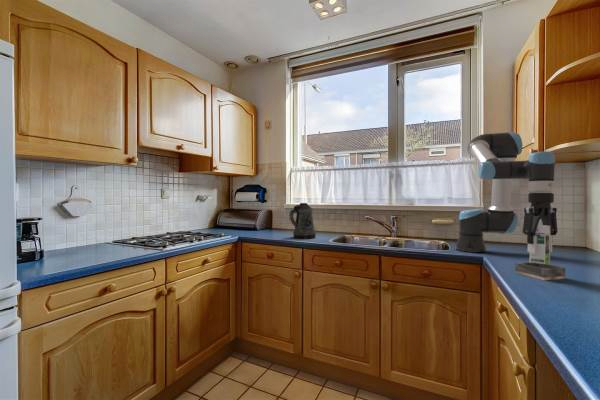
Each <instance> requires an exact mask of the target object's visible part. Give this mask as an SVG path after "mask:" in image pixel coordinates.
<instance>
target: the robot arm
mask: <svg viewBox="0 0 600 400" xmlns="http://www.w3.org/2000/svg"><path fill="white" fill-rule="evenodd" d="M522 151H523V139H522V137H521V134H519V133H517V132H496V133H495V132H494V133H483V134H480V135H477V136H475V137H474V138H472V139H471V140H470V141H469V143H468V145H467V153H468V154H469V156H471V158H474V160H475V161H476V162H477V164H478V169H477V173H478V178H479V179H481V180H492V183H491V201H490V203H491V204H490V206H489V207H488V208H487V211H484V209H483V208H479V209H478V208H477V209H465V210H461V211H460V212H459V217H458V220H459V222H458V224H459V225H458V238H457V241H456V244H455V246H454V247H455V250H456V249H457V250H456V251H459V250H461V251H460V252H464V251H468V252H467V253H472V252H485V253H487V246H486V243H485V241H484V233H488V234H491V233H492V234H501V235H502V234H503V235H504V234H512V233H514V232H515V230H516V228H517V226H518V223H519V222H518V221H519V218H518V214H517V212H515V211H514V208H512V205H511V203H512V202H511V199H512V182H513V180H528V185H527V186H528V189H527V191H528V192H529V193H528V198H527V199H528V200H527V201H528V203H530V207H524V208H523V210H524V217H523V224H522V225H523V226H522V234H524V235H525V236H526V243H527V253H530V252H531V253H536V245H537V236H534V235H535V232H536V229H537V226H538V225H539V224H540V223H539V222H540V220H541V223H542V224H541V225H549V226H550V253H553V241H554V240H553V236H557V234H558V232H559V230H558V219H557V211H558V209H557V207H552V205H551V203H553V204H554V202H555V194H554V193H553V192H554V191H555V166H556V165H555V164H556V159H555V152H553V151H536V152H531V153H530V154H528V155H529V157H528V160H517V158H518V155H521V153H522Z"/></svg>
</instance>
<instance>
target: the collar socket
mask: <svg viewBox="0 0 600 400" xmlns="http://www.w3.org/2000/svg"><path fill="white" fill-rule="evenodd" d="M514 264H515V266H514V267H515V268H514V269H515V270H514V273H515V274H517V275H522V276H525V277H529V278H533V279H538V280H541V281H554V280H564V279H565V280H566V267H564V266H563V267H562V266H557V265H553V264H550V263H549V264H548V265H546V264H538V263H530V262H529V261H525V262H523V261H522V262H515V263H514Z"/></svg>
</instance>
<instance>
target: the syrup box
mask: <svg viewBox="0 0 600 400" xmlns="http://www.w3.org/2000/svg"><path fill="white" fill-rule="evenodd" d="M534 236H537V245H536V253H531V252H529V261H528V262H530V263H538V264H546V265H548V264H549V265H550V263H551V252H550V226H549V225H543V224H538V226H537V229H536V232H535V235H534Z"/></svg>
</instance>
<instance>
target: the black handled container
mask: <svg viewBox="0 0 600 400" xmlns="http://www.w3.org/2000/svg"><path fill="white" fill-rule="evenodd" d="M313 211H314V209H313V208H312V207H311V206H310V205H308V203H307V202H300V204H298V205H294V206H293V209H291V210H290V212H289V221H290V222H291V224H292V225H293V226H294V230H293V234H292V235H293V238H295V239H301V240H310V239H311V240H312V239H313V240H314V239H315V238H316V235H317V232H316V230H315V225H314V220H313V219H314V218H313ZM294 214H296V217H295V219H294Z"/></svg>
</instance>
